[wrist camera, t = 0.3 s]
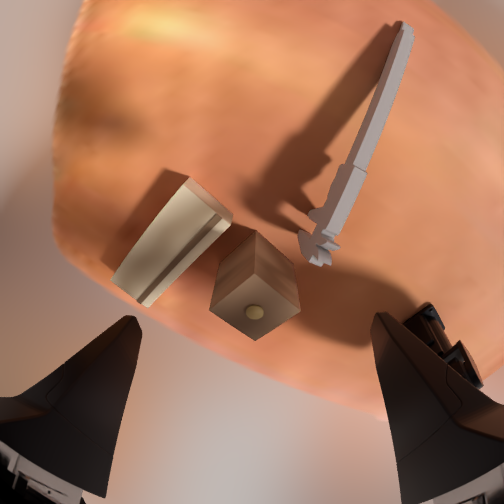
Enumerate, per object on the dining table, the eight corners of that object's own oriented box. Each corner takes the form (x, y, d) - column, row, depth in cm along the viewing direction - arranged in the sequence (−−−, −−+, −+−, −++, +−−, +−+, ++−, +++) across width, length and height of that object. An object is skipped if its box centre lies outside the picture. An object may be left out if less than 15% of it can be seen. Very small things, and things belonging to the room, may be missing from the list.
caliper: (307, 237, 22) (321, 283, 17) (296, 232, 22) (306, 277, 17) (411, 29, 13) (456, 16, 7) (399, 21, 12) (442, 4, 7)
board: (233, 214, 21) (230, 225, 20) (153, 295, 26) (147, 309, 24) (189, 176, 20) (182, 184, 18) (118, 268, 24) (109, 280, 23)
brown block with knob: (293, 263, 24) (301, 313, 18) (256, 291, 25) (255, 343, 20) (256, 230, 22) (254, 275, 17) (219, 262, 24) (208, 312, 18)
